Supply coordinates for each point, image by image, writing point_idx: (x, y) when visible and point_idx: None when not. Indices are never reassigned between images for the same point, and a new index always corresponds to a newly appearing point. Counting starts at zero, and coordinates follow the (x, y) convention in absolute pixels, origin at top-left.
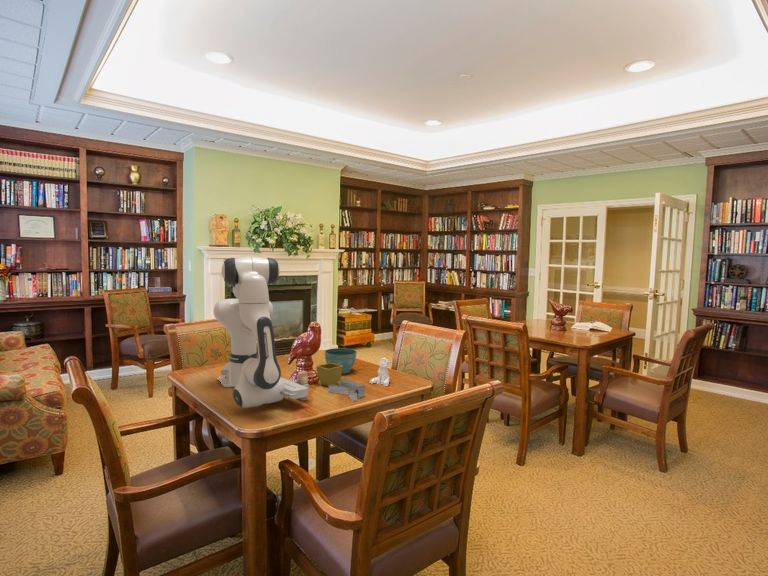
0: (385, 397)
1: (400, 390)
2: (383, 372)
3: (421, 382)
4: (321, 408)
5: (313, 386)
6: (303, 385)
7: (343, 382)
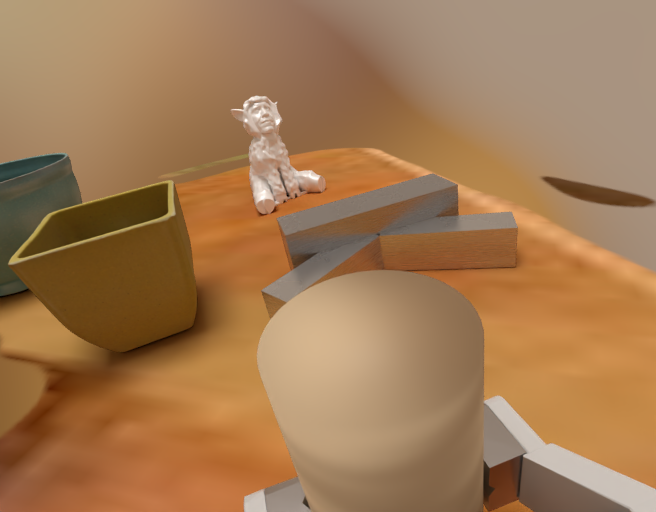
0: (460, 190)
1: (383, 171)
2: (283, 150)
3: (325, 152)
4: None
5: (103, 406)
6: (631, 489)
7: (327, 229)
